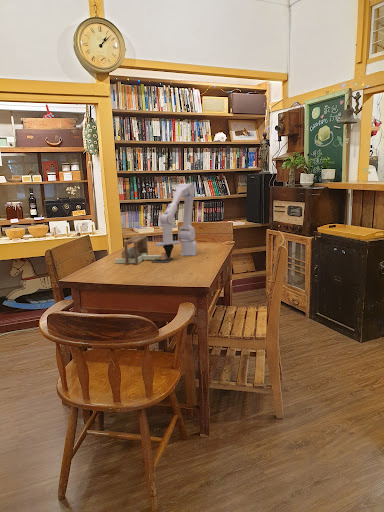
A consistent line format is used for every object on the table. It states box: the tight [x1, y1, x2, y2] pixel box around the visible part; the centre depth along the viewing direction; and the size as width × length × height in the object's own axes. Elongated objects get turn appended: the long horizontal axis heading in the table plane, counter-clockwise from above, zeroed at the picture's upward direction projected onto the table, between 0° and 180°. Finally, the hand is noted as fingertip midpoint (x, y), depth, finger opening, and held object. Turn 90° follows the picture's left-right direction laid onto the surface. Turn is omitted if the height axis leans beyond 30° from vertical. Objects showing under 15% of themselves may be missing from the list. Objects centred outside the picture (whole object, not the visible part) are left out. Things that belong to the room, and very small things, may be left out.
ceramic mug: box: [121, 246, 139, 258], centre depth 220 cm, size 11×8×8 cm
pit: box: [151, 257, 174, 264], centre depth 217 cm, size 10×12×1 cm
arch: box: [123, 234, 149, 266], centre depth 219 cm, size 7×22×14 cm, turn 170°
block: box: [114, 251, 168, 264], centre depth 219 cm, size 28×17×4 cm, turn 80°
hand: (168, 257), depth 216 cm, fingers closed
